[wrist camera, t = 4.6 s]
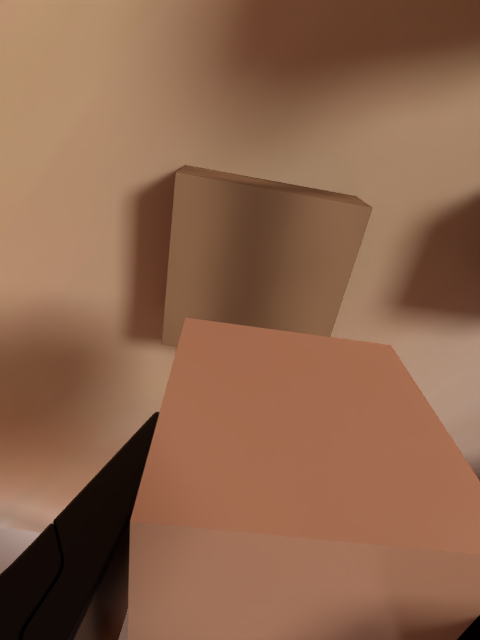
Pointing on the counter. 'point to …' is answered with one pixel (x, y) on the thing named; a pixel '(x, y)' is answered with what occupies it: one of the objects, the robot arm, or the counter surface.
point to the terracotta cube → (300, 497)
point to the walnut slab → (258, 253)
